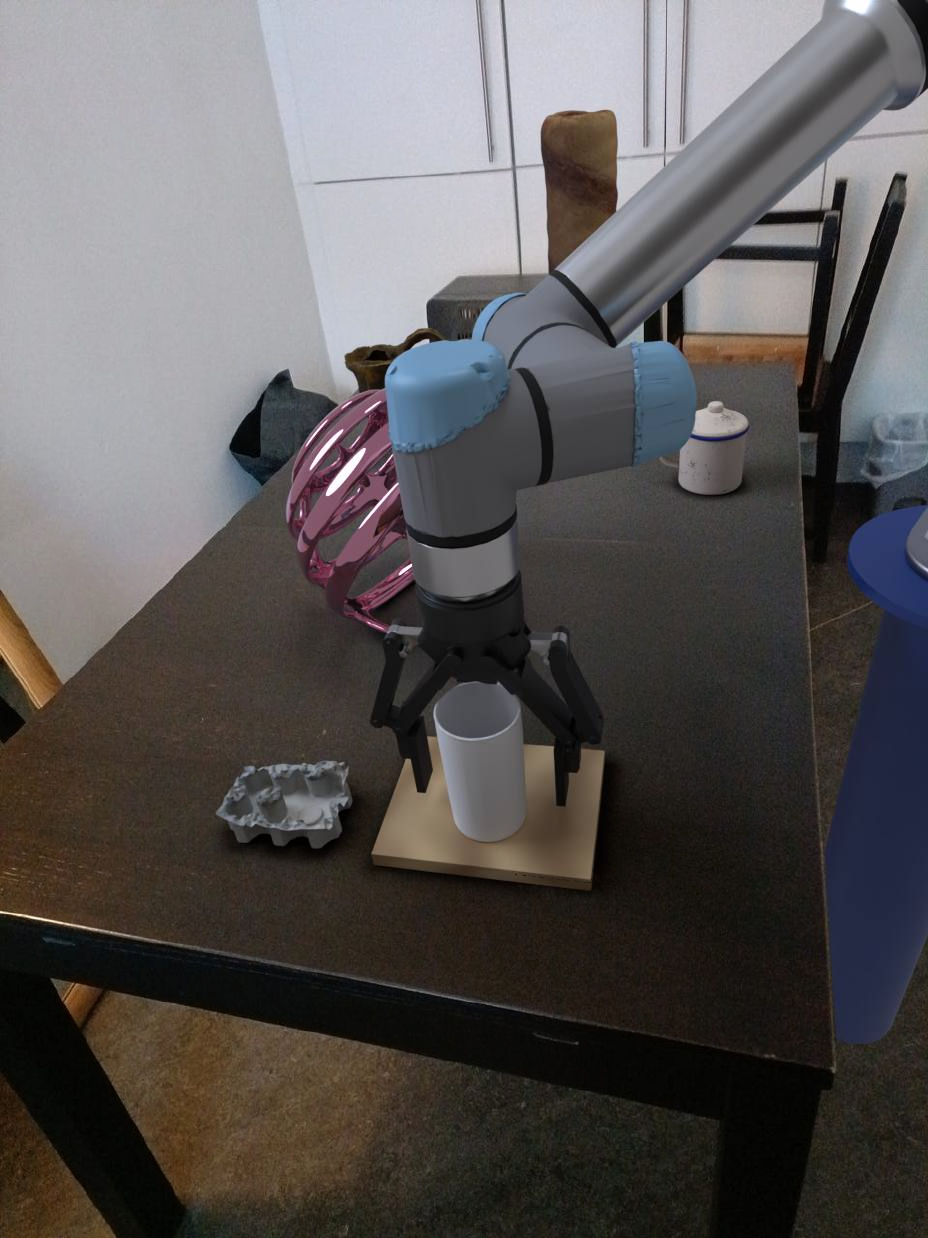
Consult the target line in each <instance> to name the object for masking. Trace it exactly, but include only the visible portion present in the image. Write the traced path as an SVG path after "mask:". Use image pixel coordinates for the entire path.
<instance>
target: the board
mask: <svg viewBox="0 0 928 1238" xmlns="http://www.w3.org/2000/svg"><path fill="white" fill-rule="evenodd" d="M427 738H428V744H429V750H430V755H431V761H432V767H433V772H432V775H431V778H430V781H429V784H428V787H427V790H426V793H417V789H416V784H415V779H414V774H413V769H412V764H411V759H405V761H404V764H403V767H402V769H401V772H400V775H399V777H398V780H397V783H396V785H395V788H394V791H393V793H392V797H391V800H390V802H389V804H388V807H387V809H386V813H385V815H384V817H383V821H382V823H381V826H380V830H379V832H378V835H377V837H376V840H375V843H374V845H373V849H372V851H371V853H370V854H371V857H372V861H373V865H374V866H381V867H388V868H395V869H403V870H413V871H421V872H430V873H438V874H446V875H456V876H462V877H471V878H479V879H488V880H497V881H505V882H511V883H512V882H514V883H521V884H529V885H538V886H546V887H554V888H555V887H556V888H563V889H571V890H572V889H573V890H580V891H587V892H591V891H592V887H593V880H594V879H593V878H594V868H595V860H596V849H597V840H598V832H599V821H600V812H601V802H602V793H603V784H604V776H605V775H604V774H605V773H604V772H605V766H606V765H605V764H606V751H605V750H601V749H588V748H581V762H580V769H579V771H578V773H569V787H568V793H567V800H566V807H563V806H556V788H555V769H554V751H553V750H554V745H553V746H552V745H539V744H529V743H528V744H527V743H523V746H524V766H525V784H526V817H525V820H524V823H523V824H522V826H521V827H520V829H519V830H518V831H517V832H515V833H514V834H513V835H511V836H510V837H508V838H505V839H503V840H500V841H495V842H481V841H476V840H473V839H471V838H469V837H467V836H465V835H464V834H463V833H462V832H461V831H460V830H459V829H458V828H457V826H456V824H455V821H454V817H453V812H452V808H451V803H450V799H449V794H448V789H447V784H446V779H445V773H444V768H443V763H442V758H441V753H440V748H439V743H438V738H437V736H429V735H427ZM592 870H593V871H592ZM515 874H517V875H515ZM523 875H526V876H523ZM529 875H530V876H529ZM532 876H535V877H532ZM539 876H540V877H544V878H540V877H539ZM549 878H554V879H549ZM557 879H565V880H557ZM591 879H592V880H591ZM566 880H570V881H566ZM573 880H575V881H581V882H574V881H573ZM583 882H591V883H583Z"/></svg>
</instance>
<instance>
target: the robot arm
mask: <svg viewBox="0 0 928 1238" xmlns="http://www.w3.org/2000/svg"><path fill="white" fill-rule="evenodd" d="M927 90H928V0H824V1H823V5H822V9H821V18H820V20H819V21H818V22H817V23H816V24H815V25H814V26H813V27H812V28H810V30H809V31H807V32H806V33H805V34H804V35H803V36H802V37H801V38H800V39H799V40H798V41H797V42H796V43H794V44H793V45H792V47H790V48H789V49H788V50H787V51H786V52H785V53H784V54H783V55H782V56H781V57H780V58H779V59H777V61H775V62H774V63H773V64H772V65H771V66H770V67H769V68H768V69H767V70H766V71H765V72H764V73H762V74H761V76H759V78H757V79H756V80H755V81H754V82H752V84H751V85H749V87H747V89H746V90H745V91H744V92H742V93H741V94H740V95H738V97H737V98H736V99H735V100H734V101H733V102H732V103H730V104H729V105H728V106H727V107H726V108H725V109H724V110H722V112H721V113H720V114H719V115H718V116H716V117H715V119H713V120H712V121H711V122H710V123H709V124H708V125H707V126H706V127H705V128H704V129H702V131H701V132H700V133H698V135H696V136H695V137H694V138H693V139H692V140H691V141H690V142H689V143H688V144H687V145H685V147H684V148H682V149H681V151H679V152H678V153H677V154H676V155H675V156H674V157H673V158H671V160H670V161H669V162H667V164H665V165H664V166H663V167H662V168H661V169H660V170H659V171H658V172H657V173H656V174H654V176H652V178H650V179H649V180H648V182H646V183H645V184H644V185H643V186H642V187H641V188H640V189H638V191H637V192H635V194H633V195H632V196H631V197H630V198H629V199H628V200H627V201H626V202H625V203H624V204H623V205H622V206H621V207H620V208H618V209H617V210H616V212H615V213H614V214H613V215H612V216H611V217H610V218H609V219H608V220H607V221H606V222H605V223H604V224H603V225H602V226H600V227H599V228H598V229H597V230H596V231H595V232H594V233H593V234H592V235H591V236H590V237H589V238H588V239H587V240H586V241H584V242H583V243H582V244H581V245H580V246H579V247H578V248H577V249H576V250H575V251H574V252H573V253H572V254H571V255H569V256H568V257H567V258H566V259H565V260H564V261H563V262H562V263H561V264H560V265H559V266H558V267H557V268H556V269H555V270H554V271H553V272H551V273H550V274H549V273H548V274H547V276H545V278H543V279H542V280H541V281H540V282H539V283H538V284H537V285H536V286H534V287H533V288H532V289H531V290H530V291H529V292H525V293H524V292H512V293H507V294H505V295H502V296H499V297H498V298H495V299H494V300H492V301H491V302H490V303H488V304H487V305H486V306H485V308H483V310H482V311H481V312H480V313H479V316H478V317H477V319H476V322H475V323H474V326H473V329H472V334H471V338H472V340H470V339H465V338H463V339H464V340H461V339H458V340H459V341H455V340H448V341H447V340H444V341H437V342H434V341H432V342H428V343H424V344H421V345H418V346H413V347H412V348H411V349H410V350H408V351H406V352H404V353H402V354H401V355H400V356H398V357H397V358H396V359H395V360H394V361H393V362H392V363H391V365H390V366H389V368H388V370H387V373H386V376H385V390H386V399H387V408H388V419H389V431H388V435H389V438H390V440H391V446H392V449H391V451H392V454H393V457H394V462H395V468H396V473H397V482H398V485H399V490H400V496H401V501H402V507H403V512H404V518H405V524H406V532H407V538H408V540H407V545H408V551H409V556H410V557H409V558H411V564H412V571H413V577H414V579H415V580H414V582H415V585H414V586H415V594H416V601H417V605H418V606H417V607H418V612H419V619H420V624H421V627H419V626H418V627H417V626H407V622H406V621H404V620H403V619H401V618H394V619H392V620H391V623H390V624H389V625H390V627H389V629H388V631H387V633H386V634H385V635H384V637H383V640H382V647H383V653H384V658H385V663H384V666H383V669H382V674H381V678H380V682H379V685H378V689H377V691H376V697H375V700H374V704H373V707H372V711H371V714H370V719H369V723H370V725H371V726H372V727H373V728H374V729H382V728H383V727H387V728H389V729H391V730H392V732H393V734H395V738H396V743H397V744H396V745H397V748H398V754H399V755H400V757H401V758H402V760H403V759H404V760H406V759H411V764H412V769H413V774H414V779H415V784H416V789H417V793H426V790H427V787H428V784H429V781H430V778H431V775H432V772H433V767H432V761H431V755H430V750H429V744H428V738H427V736H428V733H427V727H426V722H425V717H424V715H421V714H422V713H423V712H424V710H425V709H426V708H427V706H428V705H429V704H430V702H431V701H432V700H433V699H434V698H435V696H436V694H437V693H438V692H439V691H441V690H442V689H443V688H444V686H445V685H446V684H447V682H448V681H449V680H450V679H451V678H452V679H455V680H456V683H461V684H462V683H468V682H475V681H477V682H481V683H485V684H494V685H497V682H499V683H500V684H501V685H502V686H503V687H504V688H505V689H506V690H507V691H508V692H509V693H510V694H511V695H517V696H518V698H519V700H520V702H522V703H523V704H524V705H525V706H526V707H527V708H528V709H529V710H530V711H531V713H532V714H533V715H534V716H535V717H536V718H537V719H538V720H539V722H541V723H542V725H544V726H545V728H546V729H547V730H548V731H549V732H550V733H551V734H552V735H553V736H554V738H555V739H554V744H553V746H554V750H553V751H554V769H555V788H556V806H563V807H566V800H567V793H568V787H569V773H578V771H579V769H580V762H581V749H582V744H584V743H588V744H590V745H592V746H593V745H595V746H597V745H599V744H600V743H602V739H603V729H604V721H605V717H604V714H603V713H602V710H601V708H600V707H599V705H598V703H597V701H596V699H595V697H594V695H593V693H592V691H591V689H590V687H589V684H588V683H587V680H586V679H585V677H584V675H583V672H582V671H581V669H580V667H579V665H578V663H577V661H576V659H575V657H574V655H573V652H572V651H571V640H570V638H571V637H570V630H569V629H568V627H566V626H564V625H557V626H555V627H554V628H553V630H552V632H533V631H532V630H531V629H530V627H529V626H528V625H527V622H526V619H525V618H526V617H525V607H524V592H523V579H522V572H521V569H520V566H521V552H520V551H521V550H520V537H519V525H518V508H517V502H516V500H517V492H518V491H520V490H525V489H529V488H534V487H539V486H545V485H546V484H550V483H555V482H560V481H565V480H570V479H574V478H580V477H584V476H589V475H594V474H599V473H604V472H607V471H609V472H610V471H614V470H618V469H623V468H628V467H631V468H637V467H638V466H639V465H640V464H642V463H646V462H648V461H652V460H655V459H659V457H662V456H665V457H666V456H669V455H672V454H675V453H677V452H678V451H679V452H680V449H681V448H682V447H683V446H684V445H685V444H686V443H687V441H688V440H689V438H690V436H691V434H692V431H693V428H694V425H695V420H696V417H695V414H696V411H697V403H698V401H697V400H698V399H697V390H696V384H695V379H694V376H693V373H692V370H691V368H690V365H689V362H688V360H687V358H686V357H685V356H684V354H683V353H682V351H681V350H680V349H679V348H678V347H677V346H676V345H675V344H673V343H671V342H669V341H665V340H657V341H645V342H638V341H632V342H629V344H626V345H622V346H620V347H618V346H619V345H620V344H621V343H622V342H623V341H624V340H626V339H627V338H629V336H630V335H631V334H633V332H635V331H636V330H637V329H638V328H639V327H640V326H641V325H643V324H644V323H645V322H646V321H647V320H648V319H649V318H650V317H652V316H653V314H655V313H656V312H657V311H658V310H659V309H661V308H662V306H664V305H665V304H666V303H667V302H669V300H671V299H672V298H673V297H674V296H675V295H676V294H677V293H679V292H680V290H682V289H683V288H684V287H685V286H686V285H688V284H689V283H690V282H691V281H692V280H693V279H694V278H695V277H696V276H698V275H699V274H700V273H701V272H702V271H704V269H705V268H707V267H708V266H709V265H710V264H711V263H712V262H714V260H716V259H717V258H718V257H719V256H721V254H722V253H724V251H726V250H727V249H728V248H730V246H732V244H734V243H735V242H736V241H737V240H738V239H739V238H740V237H742V236H743V235H744V234H745V233H746V232H747V231H748V230H749V229H751V228H752V227H753V226H754V225H755V224H756V223H757V222H759V220H761V219H762V218H763V217H764V216H766V214H767V213H769V212H770V211H771V210H772V209H773V208H774V207H775V206H777V205H778V204H779V203H780V202H781V201H782V200H783V199H784V198H785V197H786V196H787V195H789V194H790V193H791V192H792V191H793V190H794V189H795V188H797V187H798V186H799V185H800V184H801V183H802V182H803V181H805V180H806V179H807V178H808V177H809V176H810V175H811V174H812V173H814V172H815V171H816V169H818V168H819V167H820V166H821V165H822V164H824V163H825V162H826V161H828V159H829V158H830V157H832V155H834V154H835V153H836V152H837V151H838V150H840V148H841V147H843V146H844V145H845V144H846V143H847V142H848V141H850V140H851V138H853V137H854V136H855V135H856V134H857V133H858V132H859V131H861V130H862V129H863V128H864V127H865V126H867V124H869V123H870V122H871V121H872V120H873V119H875V117H877V115H879V114H880V113H881V112H883V111H891V112H893V111H894V112H895V111H900V110H903V109H905V108H907V107H909V106H910V105H911V104H912V103H914V102H915V101H916V100H917V99H918V98H919V97H920V96H922V94H924V93H925V92H926V91H927ZM615 347H616V348H615ZM904 555H905V559H906V561H907V563H908V565H909V566H910V567H911V569H912V570H913V571H914V572H916V573H917V574H918V575H919V576H921V577H922V578H924V579H925V580H927V581H928V507H927V509H926V510H925V511H924V513H923V514H922V516H921V517H920V518H919V520H918V521H917V523H916V524H915V526H914V527H913V528H912V530H911V532H910V534H909V536H908V539H907V542H906V546H905V551H904ZM416 646H419V647H420V649H421V650H422V651H423V652H424V653H425V654H426V655H427V656H428V657H429V658H430V659H431V660H432V661H433V662H432V663H431V665H429V667H428V669H427V670H426V671H425V673H424V674H423V675H422V677H421V678H420V679H419V681H418V682H417V683H416V685H415V686H414V688H413V689H412V690H411V692H410V693H409V694H408V696H407V697H406V698H405V700H402V702H401V705H400V706H397V705H394V700H395V697H396V694H397V690H398V687H399V682H400V679H401V675H402V673H403V669H404V665H405V663H406V659H407V656H409V655H411V654H412V653H413V652H414V649H415V647H416ZM530 652H535V653H537V654H538V656H539V658H540V660H541V661H542V664H543V665H544V666H547V667H549V670H550V674H551V676H552V678H553V681H554V682H555V685H556V686H557V688H558V690H559V692H560V694H561V695H562V698H563V699H562V698H561V697H560V696H559V695H558V694H557V692H556V691H555V690H554V689H553V688H552V687H551V686H550V685H549V684H548V683H547V681H545V679H544V678H543V677H542V676H541V675H540V674H539V673H538V672H537V670H536V669H535V668H534V666H533V664H532V660H531V659H530V657H528V655H529V653H530Z"/></svg>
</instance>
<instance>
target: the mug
mask: <svg viewBox="0 0 928 1238" xmlns="http://www.w3.org/2000/svg"><path fill="white" fill-rule="evenodd" d="M433 719H434V724H435V725H434V726H435V733H436V737H437V738H438V743H439V748H440V753H441V758H442V763H443V768H444V773H445V779H446V784H447V789H448V794H449V799H450V803H451V808H452V812H453V817H454V821H455V824H456V826H457V828H458V829H459V830H460V831H461V832H462V833H463V834H464V835H465V836H467V837H469V838H471V839H473V840H476V841H481V842H495V841H500V840H503V839H505V838H508V837H510V836H511V835H513V834H514V833H515V832H517V831H518V830H519V829H520V827H521V826H522V824H523V823H524V820H525V817H526V784H525V766H524V746H523V744H524V730H523V729H524V727H523V717H522V704H521V700H520V698H519V697H518V696H517V695H511V694H510V693H509V692H508V691H507V690H506V689H505V688H504V687H503V686H502V685H501V684H500V683H499V682H497V685H494V684H485V683H481V682H477V681H475V682H468V683H462V682H461V683H460V684H457V685H455V686H453V687H451V688H449V689H447V690H446V691H445V692H444V693H442V694H441V696H440V697H439V698H438V700H437V701H436V703H435V705H434V708H433Z"/></svg>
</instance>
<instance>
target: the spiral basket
mask: <svg viewBox="0 0 928 1238" xmlns="http://www.w3.org/2000/svg"><path fill="white" fill-rule="evenodd" d="M350 409H351V410H350ZM349 410H350V411H349ZM348 411H349V412H348ZM346 412H348V413H346ZM345 413H346V414H345ZM344 414H345V415H344ZM342 415H344V416H343V417H342V418H341V419H340V420H339V421H338V422H336V424H335V425H334V426H333V427H331V429H330V430H328V428H330V426H331V425H332V424H334V423H335V421H337V419H339V418H340V417H341V416H342ZM369 415H370V416H369ZM368 416H369V419H368V418H367V417H368ZM366 419H367V422H366V423H365V426H364V428H363V429H362V431H361V432H360V434H359V435H358V437H357V438H356V439H355V441H354V442H353V444H351V446H349V447H346V446H345V445H343V444H342V441H344V440H345V439H346V437H347V436H349V434H350V433H352V431H353V430H355V429H356V428H357V427H358V426H359V425H360V424H361V423H362V422H363V421H365V420H366ZM388 420H389V419H388V408H387V399H386V390H385V388H384V389H382V390H369V391H365V392H362V393H357V394H355V395H353V396H351V397H350V398H348V399H346V400H345V401H343V402H341V403H340V404H338V405H337V406H336V407H335V408H334V409H332V410H331V411H330V412H329V413H328V414H327V415H326V416H325V417H324V418H323V419H322V420H321V421H320V422H319V423H318V424H317V425H316V426H315V428H314V429H312V431H311V432H310V434H309V435H308V437H307V438H306V439H305V441H304V442H303V444H302V446H301V448H300V450H299V451H298V453H297V456H296V457H295V461H294V464H293V468H292V470H291V487H290V489H289V493H288V496H287V500H286V505H285V522H286V528H287V530H288V533H289V535H290V536H291V537H292V539H294V540H295V541H297V544H296V549H295V557H296V558H295V559H296V563H297V566H298V568H299V570H300V572H301V574H302V576H303V577H304V578H305V580H306V581H307V582H309V583H310V584H313V585H315V586H318V587H320V588H321V589H323V590H324V592H323V593H324V601H325V603H326V604H327V606H328V608H330V610H331V611H332V612H333V613H335V614H336V615H338V616H339V617H341V618H344V619H347V620H352V621H355V622H358V623H359V624H362V625H364V626H366V627H368V628H370V629H373V630H375V631H376V632H380V633H381V634H385V635H386V633H387V631H388V629H389V627H390V625H391V624H389V623H386V622H384V621H381V620H379V619H377V618H375V617H374V616H373V615H372V614H371V613H372V612H374V611H375V610H377V609H378V608H380V607H382V606H383V605H385V604H386V603H387V602H389V601H390V600H392V599H393V598H394V597H396V596H397V595H398V594H400V593H401V592H402V591H404V590H405V589H406V588H407V587H408V586H409V585H411V584H412V583H413V582H415V579H414V577H413V571H412V564H411V558H410V557H409V558H408V559H407V560H406V561H405V562H403V564H402V565H400V566H399V567H398V568H397V569H395V570H394V571H393V572H392V573H391V574H390V575H388V576H387V577H385V578H384V579H382V580H381V581H380V582H379V583H377V584H376V585H375V586H373V587H372V588H370V589H368V590H367V591H365V592H363V593H362V594H359V595H358V596H356V597H351V596H349V595H348V594H349V592H350V590H351V587H352V585H353V583H354V581H355V580H356V578H357V576H358V575H359V573H360V571H361V570H362V568H364V567H365V566H367V565H368V564H370V563H371V562H372V561H374V560H375V559H376V558H378V557H379V556H380V555H381V554H383V553H384V552H385V551H386V550H387V549H389V548H390V547H391V546H392V545H393V544H394V543H396V542H397V541H399V540H402V539H403V540H407V541H408V538H407V532H406V524H405V518H404V512H403V507H402V501H401V496H400V490H399V485H398V479H397V473H396V468H395V462H394V457H393V453H392V454H391V455H390V456H389V458H388V459H387V460H386V462H384V464H383V465H382V467H380V468H379V469H378V470H377V471H375V472H372V471H371V470H373V469H374V468H375V466H376V465H377V464H378V463H379V462H380V461H381V460H382V459H383V458H384V457H386V455H387V454H388V453H390V451H392V446H391V440H390V438H389V435H388V431H389V422H388ZM327 430H328V432H327V433H326V434H325V436H323V438H322V439H321V440H320V442H319V443H318V444H317V445H316V446H315V447H314V445H315V444H316V443H317V442H318V440H319V439H320V437H322V435H323V434H324V433H325V432H326V431H327ZM313 447H314V449H313V450H312V448H313ZM335 449H336V450H337V451H338V452H337V453H338V458H337V459H336V460H335V461H334V462H333V463H331V464H330V465H329V466H327V467H325V468H324V469H321V470H320V471H319V469H320V468H321V466H323V464H324V463H325V461H326V460H327V459H328V458H329V457H330V455H331V454H332V453H333V452H334V451H335ZM311 450H312V451H311ZM310 452H311V453H310ZM396 481H397V482H396ZM356 487H358V488H357V491H356V492H355V493H354V494H353V495H351V493H352V492H353V491H354V489H355V488H356ZM319 493H321V494H320V495H319V497H318V499H317V500H316V502H315V503H314V505H313V507H312V499H313V496H315V495H317V494H319ZM350 495H351V497H349V496H350ZM348 497H349V498H348ZM298 507H299V517H298V518H297V517H296V513H297V510H298ZM311 507H312V508H311ZM370 508H372V509H371V510H370V512H368V514H367V515H366V517H364V519H363V520H362V521H361V523H359V525H358V526H357V528H356V529H355V531H354V532H353V534H351V536H350V538H349V539H348V541H347V542H346V544H345V545H344V547H343V548H342V550H341V551H340V553H339V555H338V556H337V558H334V559H332V560H328V561H327V560H324V558H323V557H322V555H321V552H320V549H319V545H318V543H319V541H321V540H323V539H325V538H327V537H330V536H331V535H333V534H335V533H337V532H338V531H340V530H342V529H344V528H345V527H347V526H348V525H349V524H351V523H353V522H354V521H355V520H356V519H358V518H359V517H360V516H361V515H362V514H364V513H365V512H366V511H368V510H369V509H370Z"/></svg>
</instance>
